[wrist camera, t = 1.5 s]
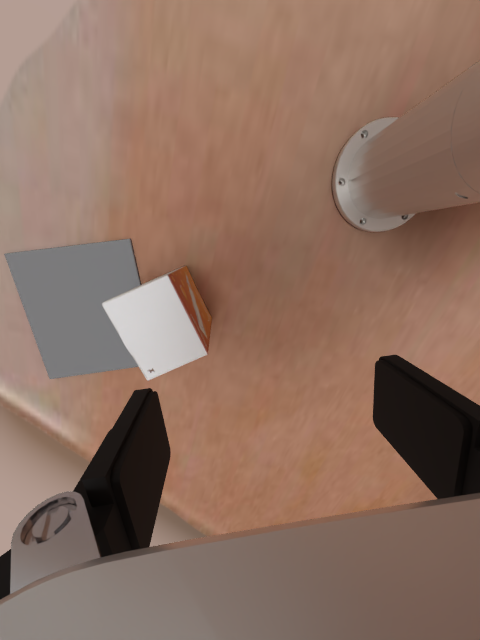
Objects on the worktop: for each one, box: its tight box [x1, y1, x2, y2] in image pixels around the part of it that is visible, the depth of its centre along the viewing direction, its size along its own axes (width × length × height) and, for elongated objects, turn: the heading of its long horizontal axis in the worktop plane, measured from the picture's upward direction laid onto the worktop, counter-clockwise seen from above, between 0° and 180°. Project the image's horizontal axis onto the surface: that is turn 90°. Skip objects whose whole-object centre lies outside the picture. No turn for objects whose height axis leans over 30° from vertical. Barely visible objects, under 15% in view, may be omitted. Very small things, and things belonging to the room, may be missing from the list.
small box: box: [102, 266, 212, 381], centre depth 29 cm, size 8×6×13 cm
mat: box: [5, 239, 141, 379], centre depth 34 cm, size 15×17×1 cm
